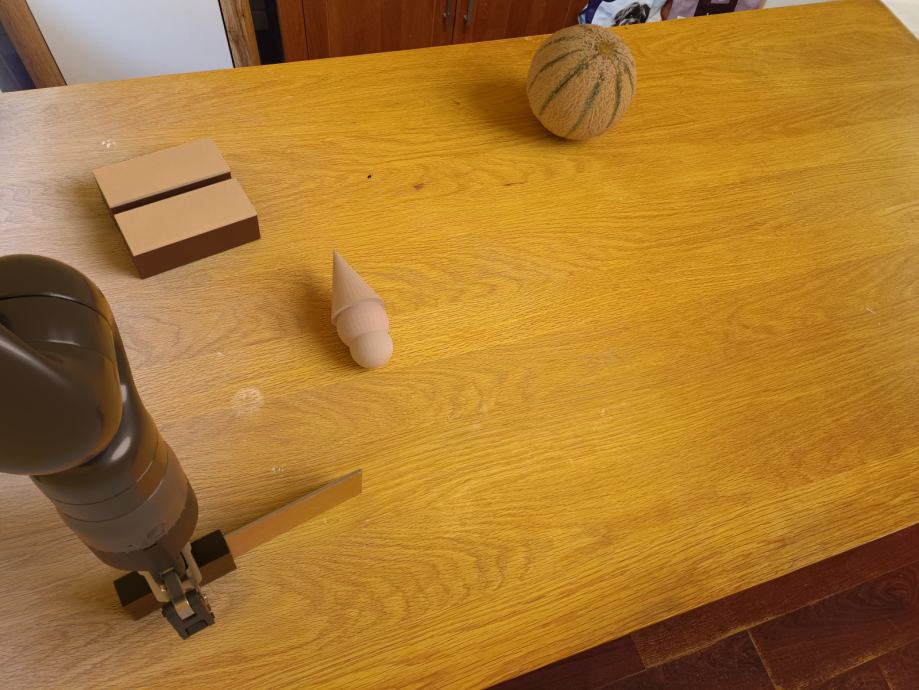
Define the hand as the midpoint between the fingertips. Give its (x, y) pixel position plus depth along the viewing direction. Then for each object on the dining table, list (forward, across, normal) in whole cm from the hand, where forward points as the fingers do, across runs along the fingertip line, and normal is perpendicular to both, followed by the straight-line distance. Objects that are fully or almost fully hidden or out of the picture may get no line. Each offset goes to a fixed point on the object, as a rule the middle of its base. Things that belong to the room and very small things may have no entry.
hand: (179, 569), depth 62 cm
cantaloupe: (+4, -35, +69) cm, 77 cm away
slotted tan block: (+3, -41, +15) cm, 44 cm away
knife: (+3, 0, +6) cm, 7 cm away
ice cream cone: (+4, -18, +26) cm, 32 cm away
